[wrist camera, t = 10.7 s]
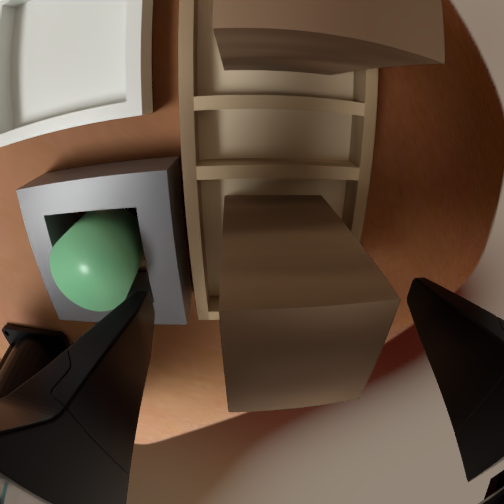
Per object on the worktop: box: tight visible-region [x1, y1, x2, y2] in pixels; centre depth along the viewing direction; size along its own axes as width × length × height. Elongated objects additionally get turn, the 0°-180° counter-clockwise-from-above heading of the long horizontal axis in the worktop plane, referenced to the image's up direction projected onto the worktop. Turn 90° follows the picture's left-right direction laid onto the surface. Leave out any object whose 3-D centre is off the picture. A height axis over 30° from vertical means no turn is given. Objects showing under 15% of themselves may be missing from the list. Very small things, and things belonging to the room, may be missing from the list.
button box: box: [16, 156, 192, 325], centre depth 12 cm, size 7×7×2 cm
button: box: [50, 208, 145, 311], centre depth 12 cm, size 4×4×3 cm
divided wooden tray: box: [178, 0, 378, 320], centre depth 11 cm, size 7×17×2 cm, turn 0°
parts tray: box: [0, 0, 153, 147], centre depth 8 cm, size 8×8×2 cm
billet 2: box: [219, 195, 401, 412], centre depth 10 cm, size 4×4×7 cm
